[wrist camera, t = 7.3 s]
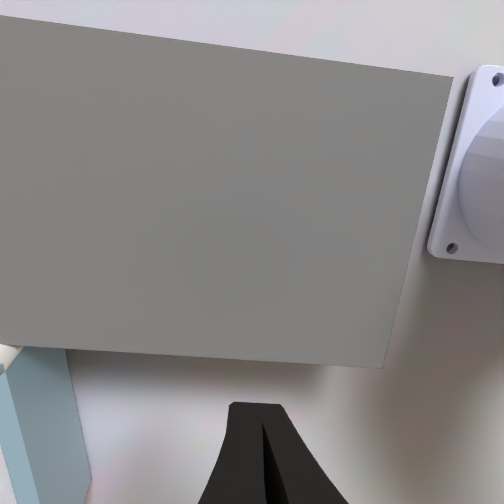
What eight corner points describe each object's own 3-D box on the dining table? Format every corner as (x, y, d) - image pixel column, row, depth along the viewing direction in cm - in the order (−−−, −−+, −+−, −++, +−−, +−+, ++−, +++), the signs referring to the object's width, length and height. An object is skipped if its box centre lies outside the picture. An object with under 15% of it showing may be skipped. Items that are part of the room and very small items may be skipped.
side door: (93, 478, 23) (62, 578, 18) (73, 480, 23) (36, 580, 18) (54, 287, 20) (2, 350, 15) (30, 289, 19) (-30, 352, 15)
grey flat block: (392, 80, 18) (453, 76, 13) (345, 310, 21) (381, 372, 17) (-161, 6, 16) (-318, -29, 11) (-120, 274, 19) (-228, 333, 15)
